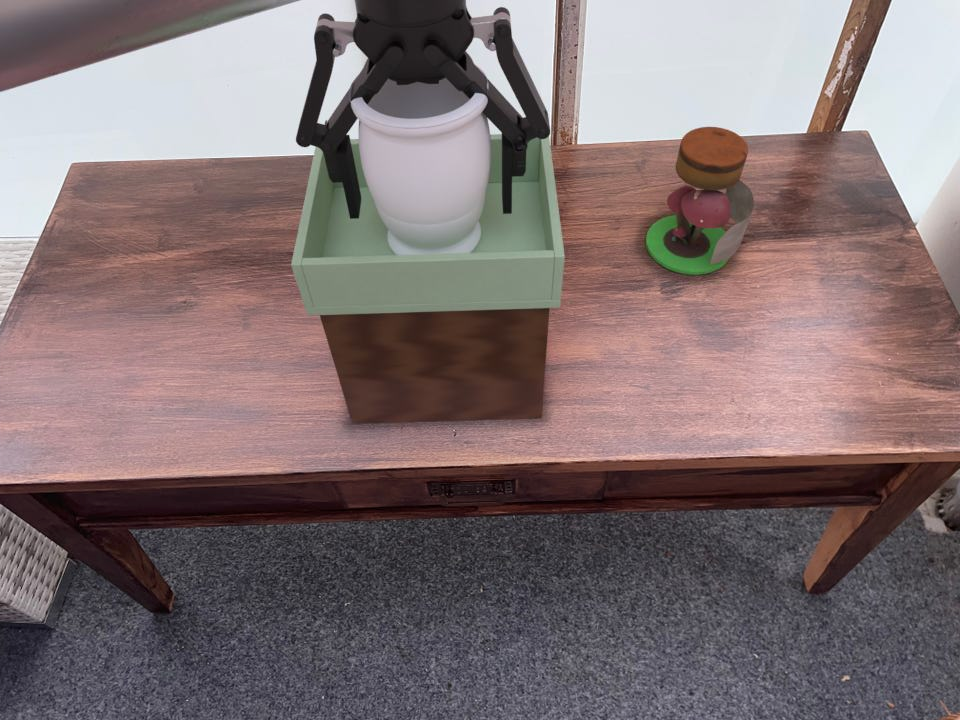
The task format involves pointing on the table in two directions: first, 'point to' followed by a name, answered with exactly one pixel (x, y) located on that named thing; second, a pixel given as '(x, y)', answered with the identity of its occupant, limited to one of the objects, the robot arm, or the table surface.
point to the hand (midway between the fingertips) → (431, 206)
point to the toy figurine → (704, 204)
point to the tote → (432, 277)
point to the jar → (426, 164)
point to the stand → (440, 364)
